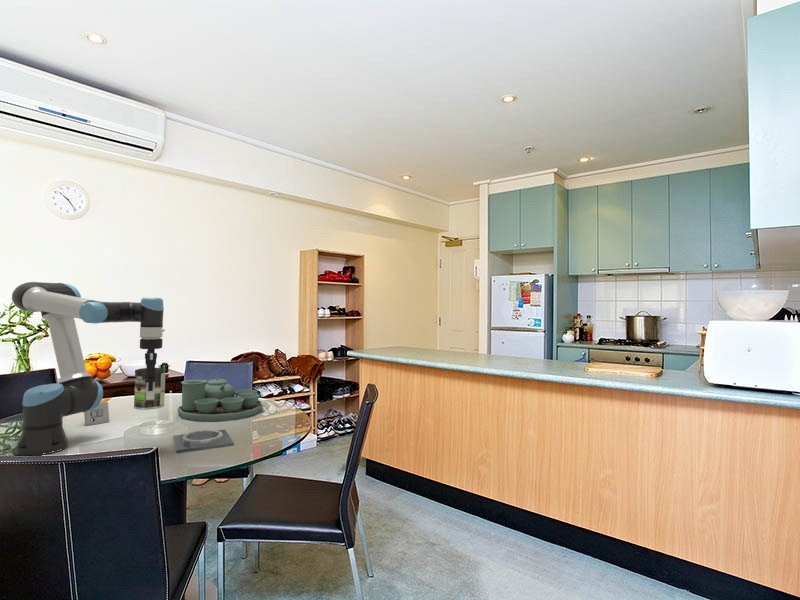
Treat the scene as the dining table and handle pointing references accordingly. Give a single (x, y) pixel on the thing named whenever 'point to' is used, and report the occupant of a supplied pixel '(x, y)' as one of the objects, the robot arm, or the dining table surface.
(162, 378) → the coffee can
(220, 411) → the tea set
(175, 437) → the flange base
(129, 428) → the dining table surface
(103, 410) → the electrical switch
